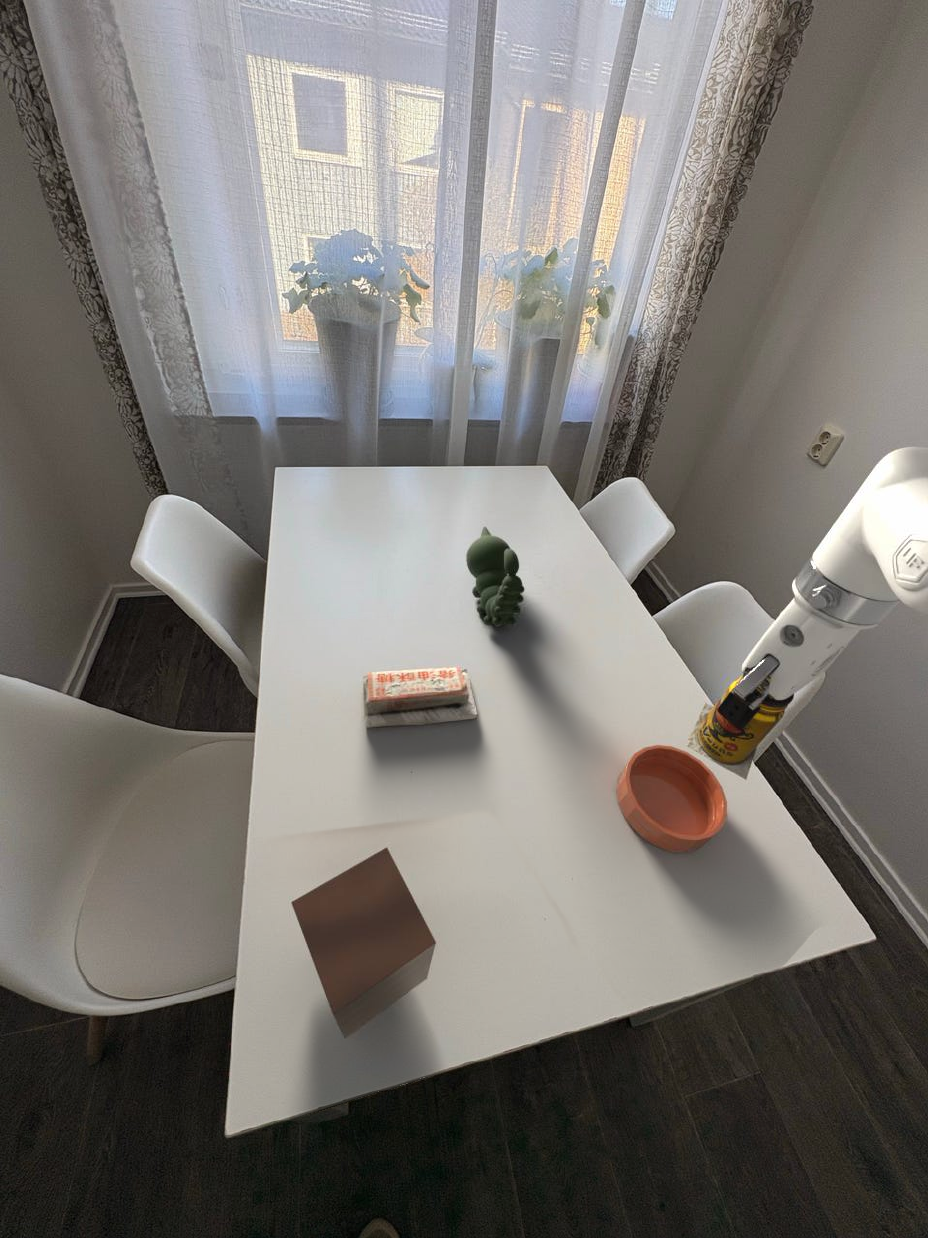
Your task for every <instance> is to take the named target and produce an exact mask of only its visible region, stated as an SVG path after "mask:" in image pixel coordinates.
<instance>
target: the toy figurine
mask: <svg viewBox="0 0 928 1238" xmlns="http://www.w3.org/2000/svg"><path fill="white" fill-rule="evenodd" d="M465 554H466V556H465V559H466V560H465V561H466V567H467V569H468V571H469V573H470V575H471V576H472V577H473V578H474V579H475V586H474V587H473V588H472V589H471V590H472V591H471V594H472V595H473V598H476V599H480V600H479V601H480V602H479V604H478V605H477V607H476V611H477V613H478V614H479V615H485V614H486V615H485V616H484V618H483V624H484V625H485V626H487V627H491V626H495V627H500V626H501V625H502V624H503V625H505V626H512V627H513V626H515V625H516V624H517V618H516V617H515V615H519V614H520V613H521V612H522V608H521V607H520V606H519V604H520V603H523V602H524V596H523V595H522V594H523V593H524V592H525V587H524V585H523V581H522V578H521V577H520V576H519V575H517V574H518V572H519V570H520V561H519V557H518V555H517V553H516V552H515V551H514V550H513V549H512V548H511V546H509V543H507V542H506V541H505V540H504V539H503V538H501V537H499V536H495V535H492V533H491V532H490V531H489V529H488V528H487V527H486V526H483V527H482V530H481V533H480V537H478V538H476V539H475V540H474V541H473V542H472V543H471V544H470V546H469V548H468V549H467V550H466V553H465Z"/></svg>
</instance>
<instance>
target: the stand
mask: <svg viewBox="0 0 928 1238" xmlns="http://www.w3.org/2000/svg"><path fill="white" fill-rule="evenodd" d="M290 904H291V906H292V910H294V914H295V917H296V920H297V922H298V925H299V927H300V930H301V934H302V936H303V938H304V941H305V944H306V946H307V948H308V952H309V955H310V957H311V960H312V962H313V964H314V967H315V970H316V973H317V976H318V978H319V981H320V984H321V987H322V989H323V992H324V994H325V997H326V1000H327V1003H328V1006H329V1008H330V1011H331V1013H332V1015H333V1018H334V1019H335V1022H336V1024H337V1026H338V1028H339V1030H340V1032H341V1033H342V1036H343V1038H344V1039H347V1038H348V1037H350V1035H352V1034H353V1033H355V1032H356V1031H357V1030H359V1029H360V1028H361V1027H363V1026H364V1025H366V1024H367V1023H369V1022H370V1021H371V1020H373V1019H374V1018H375V1017H376V1016H378V1015H379V1014H381V1013H382V1012H384V1011H385V1010H386V1009H388V1008H389V1007H390V1006H392V1005H393V1004H394V1003H396V1002H397V1001H398V1000H400V999H401V998H403V997H404V996H405V995H407V994H408V993H410V992H411V991H412V990H414V989H415V988H416V987H418V986H419V985H421V984H422V983H423V982H424V981H426V980H427V979H428V977H429V976H428V975H429V973H430V972H429V971H430V968H431V964H432V959H433V956H434V952H435V947H436V945H437V941H436V939H435V937H434V936H433V934H432V932H431V930H430V928H429V926H428V924H427V922H426V921H425V919H424V915H423V914H422V912H421V910H420V908H419V907H418V904H417V903H416V901H415V899H414V896H413V895H412V893H411V891H410V889H409V887H408V885H407V883H406V881H405V880H404V877H403V876H402V873H401V872H400V870H399V868H398V866H397V864H396V862H395V859H394V858H393V856H392V854H391V852H390V850H389V848H388V847H384V848H382V849H381V850H379V851H377V852H376V853H374V854H372V855H370V856H368V857H367V858H365V859H364V860H362V861H360V862H359V863H356V864H355V865H353V866H351V867H350V868H348V869H346V870H344V871H343V872H341V873H339V874H337V875H335V877H332V878H330V879H329V880H327V881H325V882H323V883H322V884H320V885H319V886H317V887H314V888H313V889H311V890H310V891H308V892H306V893H304V894H303V895H301V896H299V897H298V898H296V899H294V900H292V901H291V903H290Z"/></svg>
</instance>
